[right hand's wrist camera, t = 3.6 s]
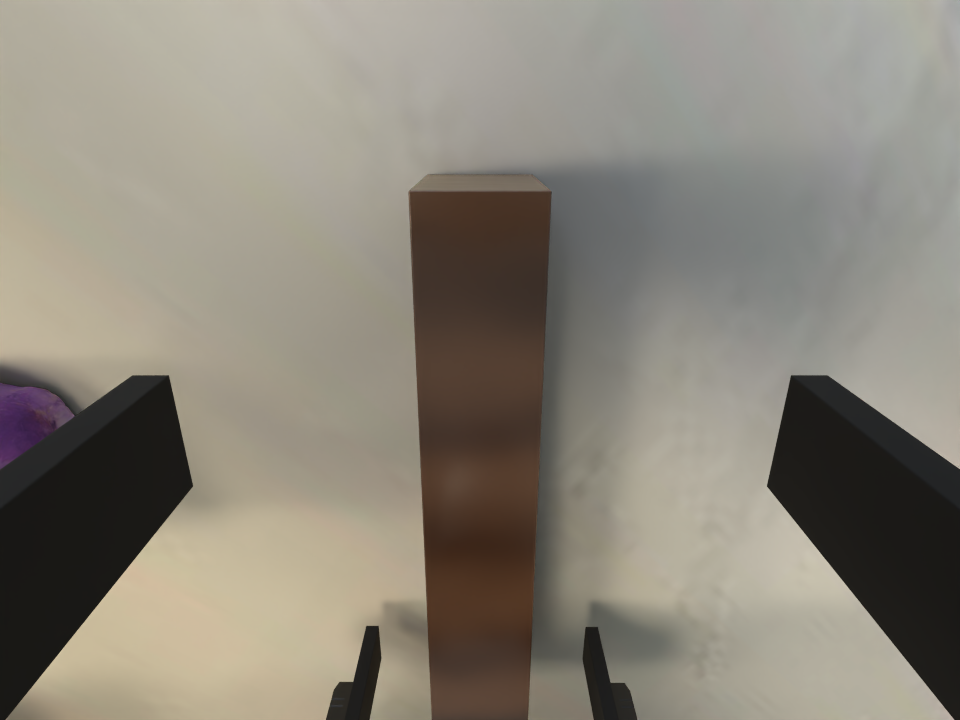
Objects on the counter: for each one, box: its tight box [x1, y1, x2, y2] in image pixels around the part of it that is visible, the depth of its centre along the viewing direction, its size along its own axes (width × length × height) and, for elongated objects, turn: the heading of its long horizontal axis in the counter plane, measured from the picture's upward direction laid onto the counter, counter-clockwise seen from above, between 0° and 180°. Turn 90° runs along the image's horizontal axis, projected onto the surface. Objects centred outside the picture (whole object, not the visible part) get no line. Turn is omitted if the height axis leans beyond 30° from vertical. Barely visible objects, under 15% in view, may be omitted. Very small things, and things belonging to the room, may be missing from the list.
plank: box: [409, 175, 551, 720], centre depth 31 cm, size 32×5×8 cm, turn 0°
